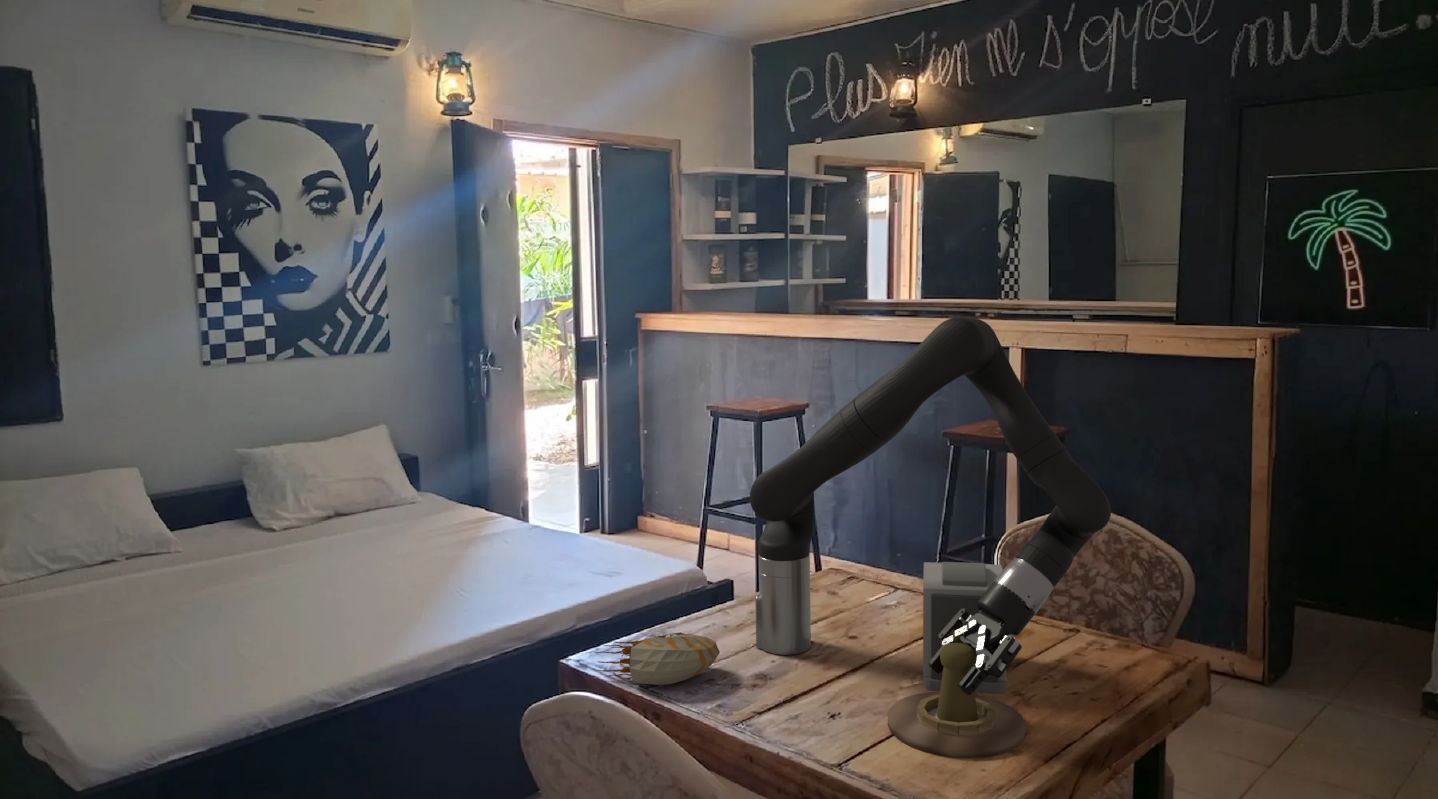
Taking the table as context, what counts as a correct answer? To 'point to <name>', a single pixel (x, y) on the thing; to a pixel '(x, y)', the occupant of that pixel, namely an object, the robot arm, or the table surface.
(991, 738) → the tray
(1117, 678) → the table surface
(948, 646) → the cork
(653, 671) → the nautilus
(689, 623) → the table surface
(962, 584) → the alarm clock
